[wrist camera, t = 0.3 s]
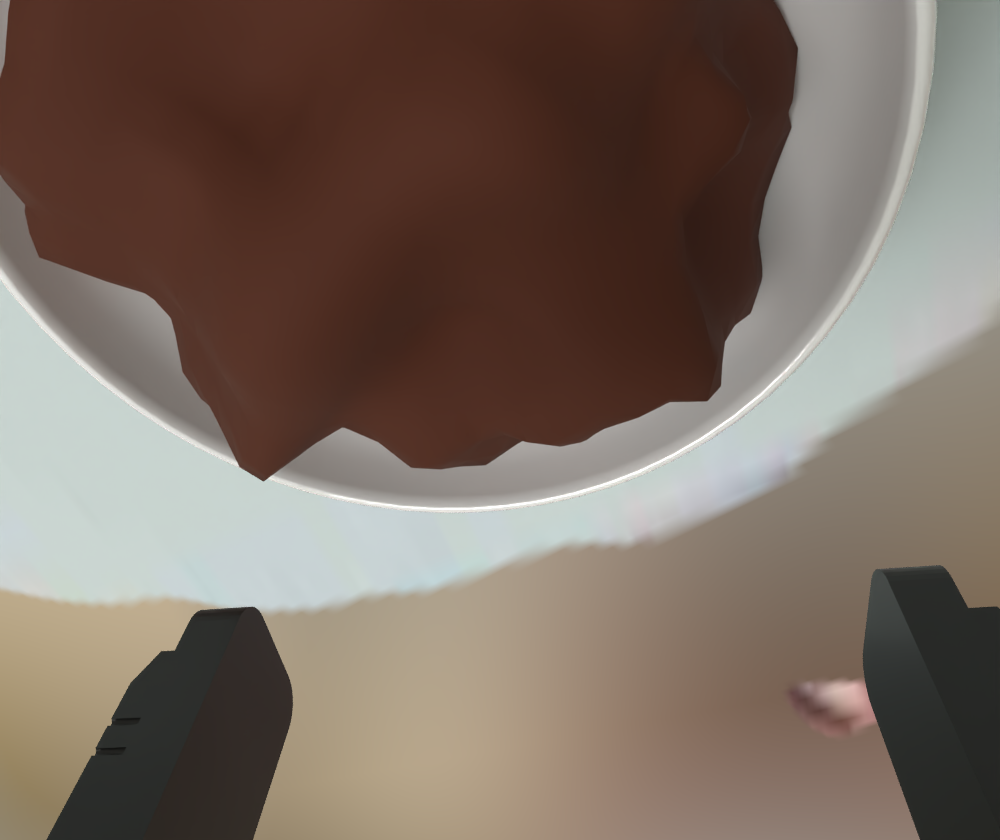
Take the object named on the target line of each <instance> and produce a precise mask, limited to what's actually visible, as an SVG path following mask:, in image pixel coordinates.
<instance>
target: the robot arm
mask: <svg viewBox="0 0 1000 840" xmlns="http://www.w3.org/2000/svg"><path fill="white" fill-rule="evenodd" d="M863 669H864V677H865V683H866V688H867V692H868V696H869V700H870V703H871V706H872V709H873V711H874V714H875V717H876V720H877V722H878V725H879V728H880V731H881V733H882V736H883V739H884V742H885V744H886V747H887V750H888V753H889V755H890V758H891V761H892V764H893V766H894V769H895V772H896V775H897V777H898V780H899V783H900V786H901V788H902V791H903V794H904V797H905V799H906V802H907V805H908V808H909V811H910V813H911V816H912V819H913V821H914V824H915V827H916V830H917V833H918V835H919V838H920V840H1000V609H999V608H998V607H980V608H968V607H967V605H966V603H965V601H964V599H963V598H962V596H961V594H960V592H959V590H958V588H957V586H956V585H955V583H954V581H953V579H952V577H951V576H950V574H949V572H947V570H946V569H945V568H944V567H943V566H940V565H938V566H937V565H936V566H920V567H906V568H889V569H877V570H875V571H874V573H873V575H872V580H871V588H870V597H869V605H868V613H867V622H866V630H865V640H864V649H863ZM292 708H293V696H292V687H291V683H290V679H289V677H288V674H287V672H286V670H285V667H284V665H283V663H282V660H281V658H280V656H279V654H278V651H277V649H276V647H275V644H274V642H273V640H272V637H271V635H270V633H269V630H268V628H267V626H266V623H265V621H264V619H263V616H262V615H261V613H260V611H259V610H258V609H256V608H255V607H241V608H225V609H210V610H200V611H198V612H197V613H195V614H194V616H193V617H192V618H191V620H190V622H189V624H188V625H187V627H186V629H185V631H184V634H183V635H182V637H181V640H180V641H179V644H178V645H177V647H176V650H175V651H161V652H160V653H159V654H158V655H157V656H156V657H155V659H153V661H152V662H151V663H150V664H149V665H148V666H147V667H146V668H145V669H144V670H143V671H142V672H141V673H140V674H139V675H138V676H137V677H136V678H135V679H134V680H133V681H132V682H131V683H130V685H129V687H128V689H127V691H126V693H125V694H124V696H123V698H122V700H121V702H120V704H119V706H118V708H117V709H116V711H115V713H114V715H113V717H112V724H111V726H107V728H106V730H105V732H104V734H103V735H102V737H101V739H100V741H99V743H98V745H97V747H96V754H95V756H91V758H90V760H89V762H88V763H87V765H86V767H85V769H84V771H83V773H82V775H81V776H80V778H79V780H78V782H77V784H76V786H75V788H74V790H73V791H72V793H71V795H70V797H69V799H68V801H67V803H66V805H65V806H64V808H63V810H62V812H61V814H60V816H59V817H58V819H57V821H56V823H55V825H54V827H53V829H52V831H51V832H50V834H49V836H48V838H47V840H253V837H254V834H255V831H256V828H257V825H258V822H259V819H260V816H261V813H262V810H263V806H264V804H265V800H266V797H267V794H268V791H269V788H270V785H271V782H272V779H273V776H274V773H275V770H276V767H277V763H278V760H279V757H280V754H281V751H282V748H283V745H284V742H285V739H286V736H287V733H288V729H289V726H290V722H291V716H292Z"/></svg>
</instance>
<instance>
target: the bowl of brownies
mask: <svg viewBox="0 0 1000 840" xmlns="http://www.w3.org/2000/svg"><path fill="white" fill-rule="evenodd" d="M937 10H938V5H937V0H0V280H1V281H2V283H3V284H4V285H5V287H6V288H7V289H8V291H9V292H10V293H11V294H12V295H13V296H14V298H15V299H16V300H17V301H18V302H19V303H20V305H21V306H22V307H23V308H24V309H25V310H26V311H27V313H28V314H29V315H30V316H31V317H32V318H33V319H34V321H35V322H36V323H37V324H38V325H39V326H40V327H41V328H42V329H43V330H44V331H45V332H46V333H47V334H48V335H49V336H50V337H51V338H52V339H53V340H54V341H55V342H56V343H57V344H58V345H59V346H60V347H61V348H62V349H63V350H64V351H65V352H66V353H67V354H68V355H69V356H70V357H71V358H72V359H73V360H74V361H76V362H77V363H78V364H79V365H80V366H81V367H82V368H84V369H85V370H86V371H87V372H88V373H89V374H90V375H92V376H93V377H94V378H95V379H96V380H97V381H99V382H100V383H101V384H102V385H103V386H105V387H106V388H107V389H109V390H110V391H111V392H113V393H114V394H115V395H117V396H118V397H119V398H120V399H122V400H123V401H124V402H126V403H127V404H128V405H130V406H131V407H132V408H134V409H135V410H137V411H138V412H140V413H141V414H143V415H144V416H146V417H147V418H149V419H150V420H152V421H153V422H155V423H156V424H158V425H160V426H161V427H163V428H164V429H166V430H167V431H169V432H171V433H173V434H174V435H176V436H178V437H180V438H181V439H183V440H185V441H187V442H188V443H190V444H192V445H194V446H195V447H197V448H199V449H201V450H203V451H205V452H207V453H209V454H211V455H213V456H215V457H217V458H219V459H221V460H224V461H226V462H228V463H230V464H232V465H234V466H236V467H239V468H241V469H244V470H245V471H247V472H249V473H250V474H252V475H254V476H255V477H257V478H259V479H260V480H262V481H265V480H266V479H269V480H272V481H275V482H278V483H281V484H283V485H286V486H289V487H292V488H295V489H298V490H302V491H305V492H309V493H313V494H317V495H320V496H324V497H328V498H332V499H336V500H341V501H346V502H351V503H356V504H361V505H366V506H372V507H380V508H388V509H396V510H403V511H419V512H435V513H474V512H487V511H500V510H511V509H517V508H524V507H531V506H538V505H544V504H548V503H553V502H557V501H562V500H567V499H571V498H576V497H579V496H583V495H586V494H590V493H593V492H596V491H600V490H603V489H606V488H610V487H613V486H615V485H618V484H621V483H623V482H626V481H628V480H631V479H634V478H636V477H639V476H642V475H644V474H646V473H649V472H651V471H653V470H655V469H657V468H659V467H661V466H663V465H666V464H668V463H670V462H672V461H674V460H676V459H678V458H680V457H682V456H683V455H685V454H687V453H689V452H690V451H692V450H694V449H696V448H697V447H699V446H701V445H703V444H704V443H706V442H708V441H710V440H711V439H713V438H714V437H716V436H717V435H718V434H720V433H721V432H723V431H724V430H726V429H727V428H729V427H730V426H732V425H733V424H735V423H736V422H738V421H739V420H740V419H742V418H743V417H744V416H745V415H747V414H748V413H749V412H750V411H752V410H753V409H754V408H755V407H757V406H758V405H759V404H760V403H761V402H763V401H764V400H765V399H766V398H768V397H769V396H770V395H771V394H772V393H773V392H774V391H775V390H776V389H778V388H779V387H780V386H781V385H782V384H783V383H784V382H785V381H786V380H787V379H788V378H789V377H790V376H791V375H792V374H793V373H794V372H795V371H796V370H797V369H798V368H799V367H800V366H801V365H802V364H803V363H804V362H805V361H806V359H807V358H808V357H809V356H810V355H811V354H812V353H813V351H814V350H815V349H816V348H817V347H818V346H819V345H820V343H821V342H822V341H823V340H824V339H825V338H826V337H827V335H828V334H829V332H830V331H831V330H832V328H833V327H834V326H835V324H836V323H837V321H838V320H839V319H840V317H841V316H842V315H843V313H844V312H845V311H846V309H847V308H848V306H849V305H850V304H851V302H852V301H853V299H854V297H855V296H856V294H857V292H858V291H859V289H860V287H861V286H862V284H863V282H864V281H865V279H866V277H867V276H868V274H869V272H870V271H871V269H872V267H873V266H874V264H875V262H876V260H877V258H878V256H879V254H880V252H881V249H882V247H883V245H884V243H885V241H886V239H887V237H888V235H889V233H890V231H891V229H892V227H893V224H894V222H895V220H896V217H897V214H898V212H899V209H900V206H901V203H902V201H903V198H904V195H905V193H906V190H907V187H908V184H909V182H910V179H911V176H912V172H913V168H914V165H915V161H916V157H917V153H918V149H919V145H920V142H921V138H922V134H923V130H924V126H925V121H926V115H927V109H928V102H929V96H930V90H931V83H932V77H933V71H934V64H935V46H936V28H937Z"/></svg>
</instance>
